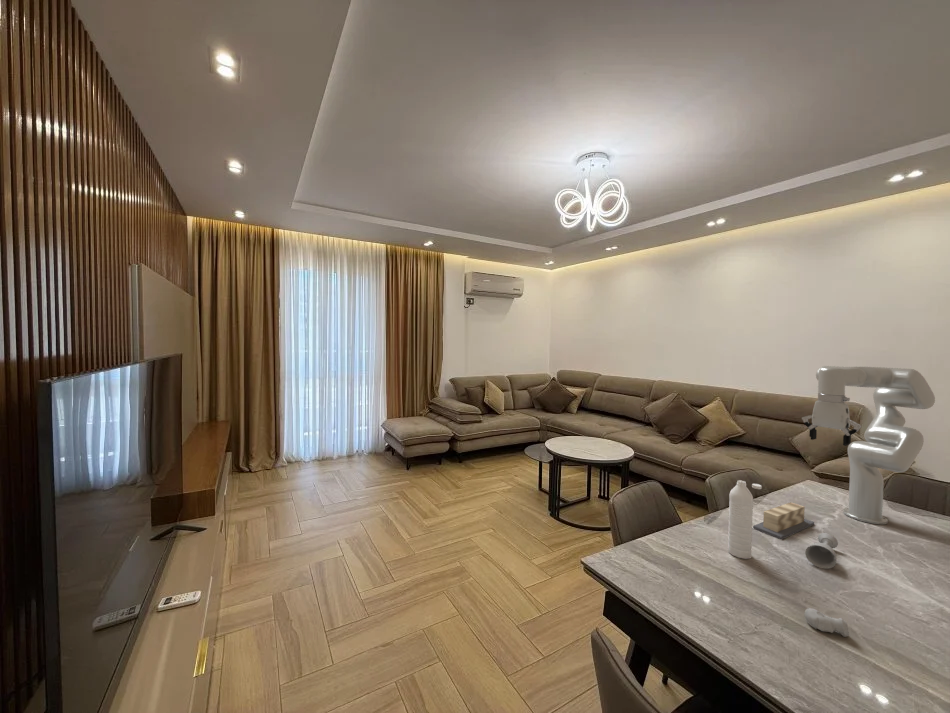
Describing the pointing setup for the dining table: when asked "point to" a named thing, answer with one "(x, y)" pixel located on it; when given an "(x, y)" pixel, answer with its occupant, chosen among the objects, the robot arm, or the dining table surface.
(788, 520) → the grooved wooden block
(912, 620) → the dining table surface
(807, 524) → the tool pad
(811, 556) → the chalice
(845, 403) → the robot arm
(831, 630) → the smooth white sculpture
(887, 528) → the dining table surface
